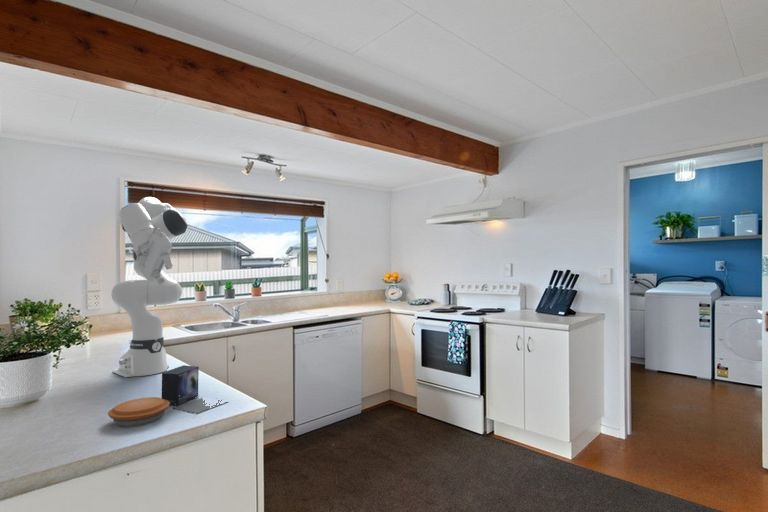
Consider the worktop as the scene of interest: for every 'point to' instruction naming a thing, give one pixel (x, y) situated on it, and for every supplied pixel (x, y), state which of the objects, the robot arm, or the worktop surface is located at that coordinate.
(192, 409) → the rubber mat
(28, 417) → the worktop surface
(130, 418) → the pie
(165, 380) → the small box
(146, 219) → the robot arm
